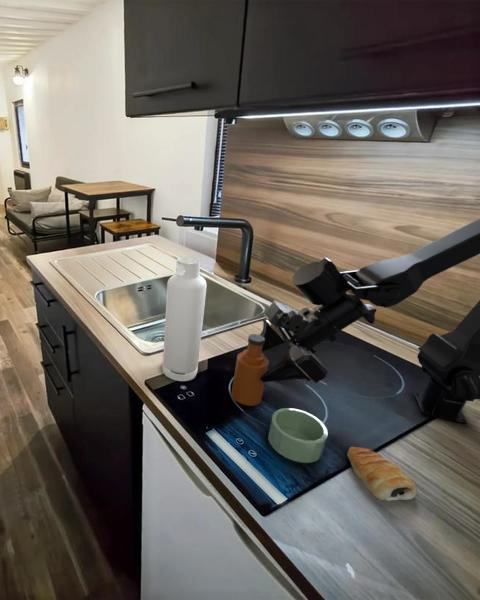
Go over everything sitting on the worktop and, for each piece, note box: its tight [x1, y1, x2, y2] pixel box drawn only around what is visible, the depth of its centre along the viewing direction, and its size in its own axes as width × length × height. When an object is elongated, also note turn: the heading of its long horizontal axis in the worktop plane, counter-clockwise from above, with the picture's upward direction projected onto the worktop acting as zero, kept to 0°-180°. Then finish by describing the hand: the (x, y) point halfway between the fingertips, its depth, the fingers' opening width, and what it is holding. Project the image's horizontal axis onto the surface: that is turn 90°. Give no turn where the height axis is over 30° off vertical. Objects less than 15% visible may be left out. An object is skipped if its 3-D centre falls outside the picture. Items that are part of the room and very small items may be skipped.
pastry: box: [346, 446, 418, 502], centre depth 58 cm, size 9×7×4 cm
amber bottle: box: [230, 333, 270, 407], centre depth 74 cm, size 6×6×15 cm
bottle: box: [162, 255, 208, 382], centre depth 81 cm, size 8×8×28 cm
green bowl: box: [267, 407, 329, 464], centre depth 64 cm, size 8×8×5 cm
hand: (254, 366), depth 74 cm, fingers open, 9 cm apart
